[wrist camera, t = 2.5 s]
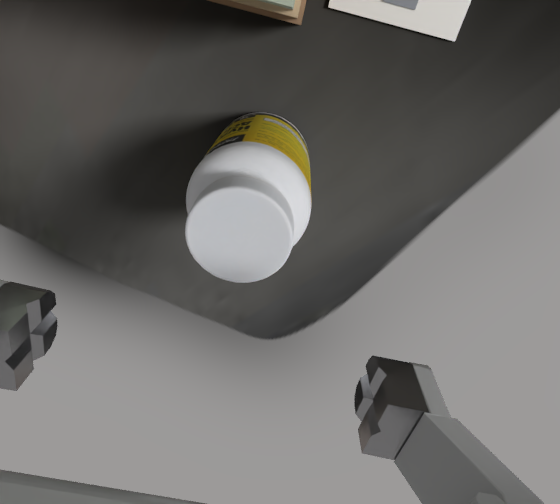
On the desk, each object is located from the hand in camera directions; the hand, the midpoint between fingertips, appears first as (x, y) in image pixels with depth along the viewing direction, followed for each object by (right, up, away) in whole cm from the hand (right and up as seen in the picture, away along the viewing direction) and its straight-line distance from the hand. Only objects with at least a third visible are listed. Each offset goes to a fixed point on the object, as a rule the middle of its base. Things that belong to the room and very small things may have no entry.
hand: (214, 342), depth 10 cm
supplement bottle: (+1, +8, +13) cm, 15 cm away
